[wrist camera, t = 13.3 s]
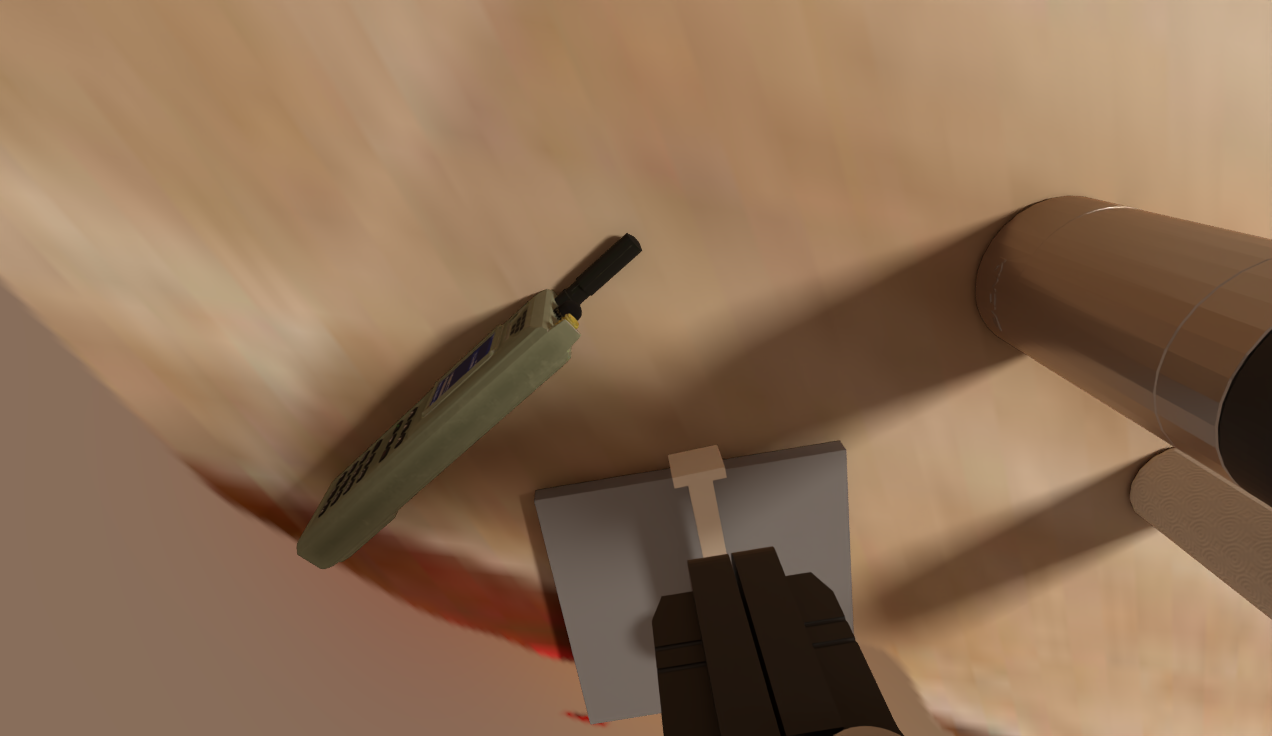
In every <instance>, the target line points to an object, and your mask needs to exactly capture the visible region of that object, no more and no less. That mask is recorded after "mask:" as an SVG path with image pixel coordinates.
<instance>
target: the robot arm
mask: <svg viewBox="0 0 1272 736" xmlns="http://www.w3.org/2000/svg"><path fill="white" fill-rule="evenodd" d="M975 291H976V303H977V306H978V309H979V312H980V316H981V317H982V319H983V321H984V322H985V324H986V325H987V327H988V328H989V329H990V330H991V331H992V332H993V333H994V334H995V335H996V336H998V337H999V338H1001V339H1002V340H1004V341H1005V342H1007V343H1009V344H1010V345H1012V346H1013V347H1015V348H1017V349H1018V350H1020V351H1021V352H1023V353H1025V354H1026V355H1028V356H1029V357H1031V358H1033V359H1034V360H1035V361H1037V362H1039V363H1040V364H1042V365H1043V366H1045V367H1047V368H1048V369H1050V370H1051V371H1053V372H1055V373H1056V374H1058V375H1059V376H1061V377H1063V378H1064V379H1066V380H1067V381H1069V382H1071V383H1072V384H1074V385H1076V386H1077V387H1079V388H1080V389H1082V390H1084V391H1085V392H1087V393H1088V394H1090V395H1092V396H1093V397H1095V398H1096V399H1098V400H1100V401H1101V402H1103V403H1104V404H1106V405H1108V406H1109V407H1111V408H1112V409H1114V410H1116V411H1117V412H1119V413H1120V414H1122V415H1124V416H1125V417H1127V418H1129V419H1130V420H1132V421H1133V422H1135V423H1137V424H1138V425H1140V426H1141V427H1143V428H1145V429H1146V430H1148V431H1149V432H1151V433H1153V434H1154V435H1156V436H1157V437H1159V438H1161V439H1162V440H1164V441H1165V442H1167V443H1169V444H1170V445H1172V446H1173V447H1175V448H1177V449H1178V450H1180V451H1182V452H1183V453H1185V454H1186V455H1189V456H1190V457H1192V458H1193V459H1195V460H1197V461H1198V462H1200V463H1201V464H1203V465H1205V466H1206V467H1208V468H1209V469H1211V470H1213V471H1214V472H1216V473H1217V474H1219V475H1221V476H1222V477H1224V478H1225V479H1227V480H1229V481H1230V482H1232V483H1234V484H1235V485H1237V486H1238V487H1240V488H1242V489H1243V490H1245V491H1246V492H1248V493H1250V494H1251V495H1253V496H1254V497H1256V498H1258V499H1259V500H1261V501H1262V502H1264V503H1265V504H1267V505H1269V506H1270V507H1272V239H1267V238H1263V237H1258V236H1254V235H1250V234H1245V233H1241V232H1236V231H1232V230H1227V229H1223V228H1219V227H1214V226H1210V225H1205V224H1201V223H1197V222H1192V221H1188V220H1183V219H1179V218H1174V217H1170V216H1166V215H1161V214H1157V213H1152V212H1148V211H1144V210H1140V209H1136V208H1132V207H1128V206H1123V205H1119V204H1114V203H1110V202H1106V201H1101V200H1097V199H1092V198H1088V197H1081V196H1063V197H1056V198H1051V199H1048V200H1045V201H1042V202H1040V203H1037V204H1034V205H1033V206H1031V207H1029V208H1027V209H1026V210H1024V211H1022V212H1021V213H1019V214H1018V215H1016V216H1015V217H1014V218H1013V219H1012V220H1011V221H1009V222H1008V223H1007V224H1006V225H1005V226H1004V227H1003V228H1002V229H1001V230H1000V231H999V233H998V234H997V235H996V236H995V237H994V239H993V240H992V241H991V243H990V245H989V247H988V248H987V250H986V252H985V254H984V255H983V258H982V261H981V263H980V266H979V269H978V272H977V279H976V286H975ZM731 562H732V564H731ZM687 566H688V572H689V579H690V585H691V592H685V593H679V594H672V595H666V596H661V599H660V601H659V604H658V606H657V609H656V611H655V614H654V616H653V619H652V629H653V638H654V647H655V657H656V667H657V676H658V686H659V695H660V705H661V714H662V724H663V733H664V736H904V735H903V734H902V733H901V731H900V730H899V728H898V727H897V725H896V723H895V721H894V719H893V717H892V715H891V713H890V711H889V709H888V707H887V705H886V702H885V700H884V698H883V696H882V694H881V692H880V690H879V688H878V685H877V683H876V681H875V679H874V677H873V675H872V673H871V670H870V668H869V666H868V664H867V662H866V660H865V658H864V656H863V653H862V651H861V649H860V647H859V645H858V643H857V642H856V641H855V636H854V634H853V632H852V630H851V628H850V626H849V624H848V622H847V621H846V619H845V615H844V613H843V611H842V609H841V607H840V605H839V602H838V600H837V598H836V596H835V594H834V592H833V591H832V590H831V589H830V588H829V587H828V586H827V585H825V584H824V583H823V582H822V581H821V580H820V579H818V578H817V577H816V576H815V575H814V574H813V573H812V572H807V573H801V574H795V575H788V576H785V573H784V571H783V568H782V565H781V563H780V560H779V558H778V555H777V553H776V550H775V548H774V547H773V546H771V547H764V548H758V549H752V550H746V551H740V552H734V553H731V560H730V557H729V555H728V554H723V555H716V556H710V557H704V558H698V559H692V560H687Z"/></svg>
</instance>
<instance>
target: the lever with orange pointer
mask: <svg viewBox="0 0 1272 736" xmlns="http://www.w3.org/2000/svg"><path fill="white" fill-rule="evenodd" d="M668 459H669V464H670V469H671V474H672V479H673V484H674V488H680V487H685V486H688V488H689V493H690V498H691V502H692V507H693V512H694V517H695V521H696V526H697V531H698V536H699V540H700V545H701V550H702V555H703V558H704V557H710V556H716V555H723V554H727V553H726V548H725V543H724V537H723V532H722V527H721V522H720V517H719V511H718V506H717V501H716V496H715V491H714V485H713V480H718V479H723V478H727V476H726V471H725V466H724V463H723V460H722V457H721V454H720V451H719V448H718V445H713V446H708V447H703V448H699V449H694V450H689V451H684V452H680V453H675V454H670V455H668Z"/></svg>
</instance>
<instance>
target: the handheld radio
mask: <svg viewBox="0 0 1272 736" xmlns="http://www.w3.org/2000/svg"><path fill="white" fill-rule="evenodd" d="M641 251H642V249H641V246H640V243H639V242H638V241H637V239H636V238H635V237H634V236H632V235H630V234H628V233H626V234H625V235H624V236H623V237H622V238H621V239H620V240H619V241H617V242H616V243H615V244H614V245H613V246H612V247H611V248H610V249H609V250H607V251H606V252H605V253H604V254H603V255H602V256H601V257H600V258H599V259H598V260H596V261H595V262H594V263H593V264H592V265H591V266H590V267H589V268H588V269H587V270H585V271H584V272H583V273H582V274H581V275H580V276H579V277H578V278H577V279H576V281H575V282H574V283H573V284H572V285H571V286H570V287H569V288H568V289H567V290H566V289H564V290H563V291H562V292H561V293H560V294H559V295H558V296H557V295H556V294H555V292H554V291H552V290H549V289H546V290H544V291H541V292H540V293H538V294H537V295H535V296H534V297H533V298H532V299H531V300H530V301H528V302H527V303H526V304H525V305H524V306H523V307H522V308H521V309H520V310H519V311H517V312H516V313H515V314H514V315H513V316H512V317H511V318H510V319H509V320H508V321H506V322H505V323H504V324H503V325H498V326H497V327H496V328H495V329H494V330H493V331H492V332H491V333H490V334H489V335H488V336H486V337H485V338H484V339H483V340H482V341H481V342H480V343H479V344H478V345H477V346H476V347H474V348H473V349H472V350H471V351H470V352H469V353H468V354H467V355H466V356H465V357H464V358H462V359H461V360H460V361H459V362H458V363H457V364H456V365H455V366H454V367H453V368H452V369H450V370H449V371H448V372H447V373H446V374H445V375H444V376H443V377H442V378H441V379H440V380H439V381H437V382H436V383H435V386H434V388H433V389H432V390H430V391H429V392H428V393H427V394H426V395H425V396H424V397H423V398H422V399H421V400H420V401H419V402H418V403H417V404H416V405H415V406H414V407H412V408H411V409H410V410H409V411H408V412H407V413H406V414H405V415H404V416H403V417H402V418H401V419H400V420H398V421H397V422H396V423H395V424H394V425H393V426H392V427H391V428H390V429H389V430H388V431H387V432H386V433H384V434H383V435H382V436H381V437H380V438H379V439H378V440H377V441H376V442H375V443H374V444H373V445H372V446H370V447H369V448H368V449H367V450H366V451H365V452H364V453H363V454H362V455H361V456H360V457H359V458H358V459H356V460H355V461H354V462H353V463H352V464H351V465H350V466H349V467H348V468H347V469H346V470H345V471H344V472H342V473H341V474H340V475H339V476H338V477H337V478H336V479H335V480H334V481H333V482H332V484H331V485H330V487H329V489H328V491H327V492H326V494H325V496H324V498H323V499H322V501H321V503H320V504H319V506H318V508H317V510H316V511H315V513H314V515H313V516H312V518H311V520H310V522H309V523H308V525H307V527H306V529H305V530H304V532H303V534H302V535H301V537H300V539H299V541H298V543H297V554H298V555H299V556H301V557H302V558H304V559H306V560H307V561H309V562H310V563H312V564H314V565H315V566H317V567H319V568H320V569H326V568H329V567H332V566H334V565H335V564H337V563H338V562H343V561H344V560H346V559H348V558H349V557H351V556H352V555H353V554H354V553H355V552H356V551H357V550H359V549H360V548H361V547H362V546H363V545H364V544H365V543H367V542H368V541H369V540H370V539H371V538H372V537H373V536H375V535H376V534H377V533H378V532H379V531H380V530H382V529H383V528H384V527H385V526H386V525H387V524H388V523H390V522H391V521H392V520H393V519H394V518H395V517H396V514H397V511H398V510H399V509H400V508H401V507H402V506H403V505H404V504H405V503H407V502H408V501H409V500H410V499H411V498H412V497H413V496H415V495H416V494H417V493H418V492H419V491H420V490H421V489H423V488H424V487H425V486H426V485H427V484H428V483H429V482H431V481H432V480H433V479H434V478H435V477H436V476H437V475H439V474H440V473H441V472H442V471H443V470H444V469H445V468H447V467H448V466H449V465H450V464H451V463H452V462H453V461H455V460H456V459H457V458H458V457H459V456H460V455H461V454H463V453H464V452H465V451H466V450H467V449H468V448H469V447H471V446H472V445H473V444H474V443H475V442H476V441H477V440H479V439H480V438H481V437H482V436H483V435H484V434H485V433H487V432H488V431H489V430H490V429H491V428H492V427H493V426H495V425H496V424H497V423H498V422H499V421H500V420H502V419H503V418H504V417H505V416H506V415H507V414H508V413H510V412H511V411H512V410H513V409H514V408H515V407H516V406H518V405H519V404H520V403H521V402H522V401H523V400H524V399H526V398H527V397H528V396H529V395H530V394H531V393H532V392H534V391H535V390H536V389H537V388H538V387H539V386H540V385H542V384H543V383H544V382H545V381H546V380H547V379H548V378H550V377H551V376H552V375H553V374H554V373H555V372H556V371H558V370H559V369H560V368H561V367H562V366H563V365H564V364H566V363H567V362H568V360H569V359H570V358H571V346H572V345H573V344H574V343H575V342H576V341H577V340H578V339H579V338H580V336H581V334H580V333H579V332H578V331H577V330H576V329H577V328H578V326H579V323H578V320H579V319H580V317H581V315H582V310H581V307H580V304H581V303H582V302H583V301H584V300H585V299H587V298H588V297H589V296H590V295H591V296H592V295H593V294H594V293H595V292H596V291H597V290H599V289H600V288H601V287H602V286H603V285H604V284H605V283H606V282H608V281H609V280H610V279H611V278H612V277H613V276H614V275H615V274H617V273H618V272H619V271H620V270H621V269H622V268H623V267H624V266H626V265H627V264H628V263H629V262H630V261H631V260H632V259H633V258H634V257H636V256H637V255H638V254H639V253H640V252H641Z"/></svg>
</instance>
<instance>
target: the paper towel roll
mask: <svg viewBox="0 0 1272 736" xmlns="http://www.w3.org/2000/svg"><path fill="white" fill-rule="evenodd" d="M1130 501H1131V503H1132V506H1133V508H1134V511H1135V512H1136V513H1137V514H1138V515H1140V516H1141V517H1142V518H1143V519H1145V520H1146V521H1147V522H1149V523H1150V524H1151V525H1152V526H1154V527H1155V528H1156V529H1157V530H1159V531H1160V532H1161V533H1162V534H1164V535H1165V536H1166V537H1168V538H1169V539H1170V540H1171V541H1173V542H1174V543H1175V544H1176V545H1178V546H1179V547H1180V548H1182V549H1183V550H1184V551H1185V552H1187V553H1188V554H1189V555H1190V556H1192V557H1193V558H1194V559H1196V560H1197V561H1198V562H1199V563H1201V564H1202V565H1203V566H1204V567H1206V568H1207V569H1208V570H1209V571H1211V572H1212V573H1213V574H1215V575H1216V576H1217V577H1218V578H1220V579H1221V580H1222V581H1223V582H1225V583H1226V584H1227V585H1229V586H1230V587H1231V588H1232V589H1234V590H1235V591H1236V592H1237V593H1239V594H1240V595H1241V596H1243V597H1244V598H1245V599H1246V600H1248V601H1249V602H1250V603H1251V604H1253V605H1254V606H1255V607H1256V608H1258V609H1259V610H1260V611H1262V612H1263V613H1264V614H1265V615H1267V616H1268V617H1269V618H1270V619H1272V507H1270V506H1269V505H1267V504H1265V503H1264V502H1262V501H1261V500H1259V499H1258V498H1256V497H1254V496H1253V495H1251V494H1250V493H1248V492H1246V491H1245V490H1243V489H1242V488H1240V487H1238V486H1237V485H1235V484H1234V483H1232V482H1230V481H1229V480H1227V479H1225V478H1224V477H1222V476H1221V475H1219V474H1217V473H1216V472H1214V471H1213V470H1211V469H1209V468H1208V467H1206V466H1205V465H1203V464H1201V463H1200V462H1198V461H1197V460H1195V459H1193V458H1192V457H1190V456H1189V455H1186V454H1185V453H1183V452H1182V451H1180V450H1178V449H1177V448H1171V449H1169V450H1167V451H1165V452H1163V453H1161V454H1159V455H1157V456H1155V457H1153V458H1152V459H1151V460H1150V461H1149V462H1147V463H1146V464H1145V465H1144V466H1143V467H1142V468H1141V469H1140V470H1139V472H1138V473H1137V475H1136V477H1135V479H1134V480H1133V482H1132V484H1131V491H1130Z"/></svg>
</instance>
